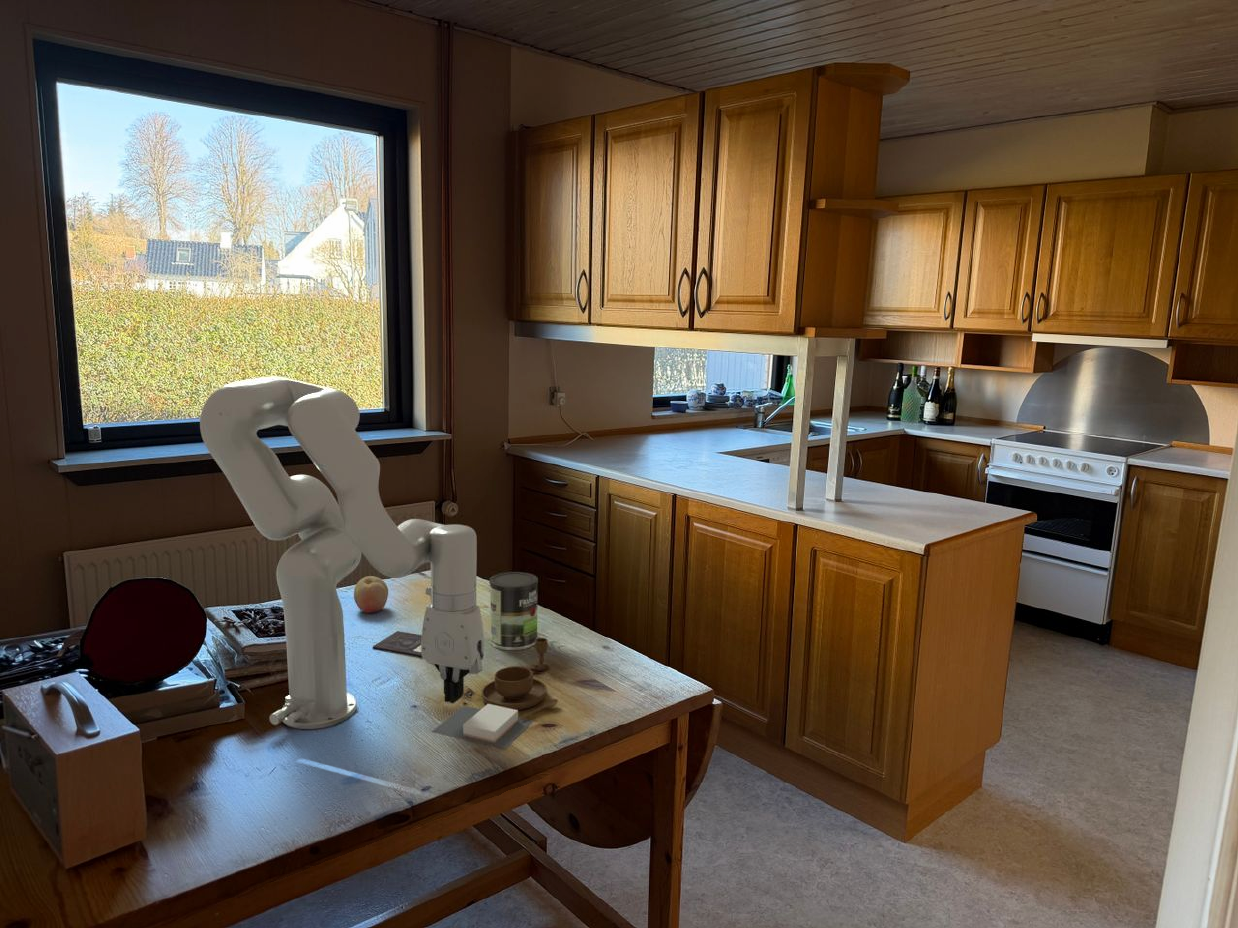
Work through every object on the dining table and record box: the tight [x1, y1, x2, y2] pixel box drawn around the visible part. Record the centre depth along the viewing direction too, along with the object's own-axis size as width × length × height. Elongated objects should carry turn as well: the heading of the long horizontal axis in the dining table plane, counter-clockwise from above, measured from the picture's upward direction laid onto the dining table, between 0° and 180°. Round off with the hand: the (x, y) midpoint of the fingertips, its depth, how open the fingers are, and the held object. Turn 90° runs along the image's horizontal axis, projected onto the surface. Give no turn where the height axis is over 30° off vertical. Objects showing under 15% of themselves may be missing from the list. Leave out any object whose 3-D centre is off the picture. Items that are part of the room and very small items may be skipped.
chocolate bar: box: [372, 630, 423, 659], centre depth 175 cm, size 9×1×18 cm
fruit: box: [353, 575, 389, 614], centre depth 194 cm, size 8×8×8 cm
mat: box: [431, 705, 534, 750], centre depth 141 cm, size 10×14×1 cm
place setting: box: [480, 637, 558, 719], centre depth 154 cm, size 18×20×6 cm
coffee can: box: [489, 571, 539, 651], centre depth 178 cm, size 10×10×14 cm
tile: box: [463, 704, 519, 743], centre depth 141 cm, size 8×2×6 cm
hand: (453, 698), depth 143 cm, fingers closed
